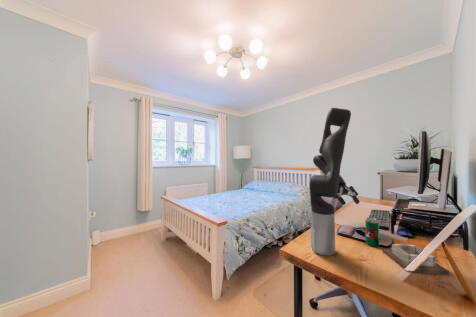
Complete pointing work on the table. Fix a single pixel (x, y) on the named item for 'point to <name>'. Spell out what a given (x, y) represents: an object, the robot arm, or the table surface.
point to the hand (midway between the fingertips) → (351, 203)
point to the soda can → (372, 232)
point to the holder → (409, 252)
